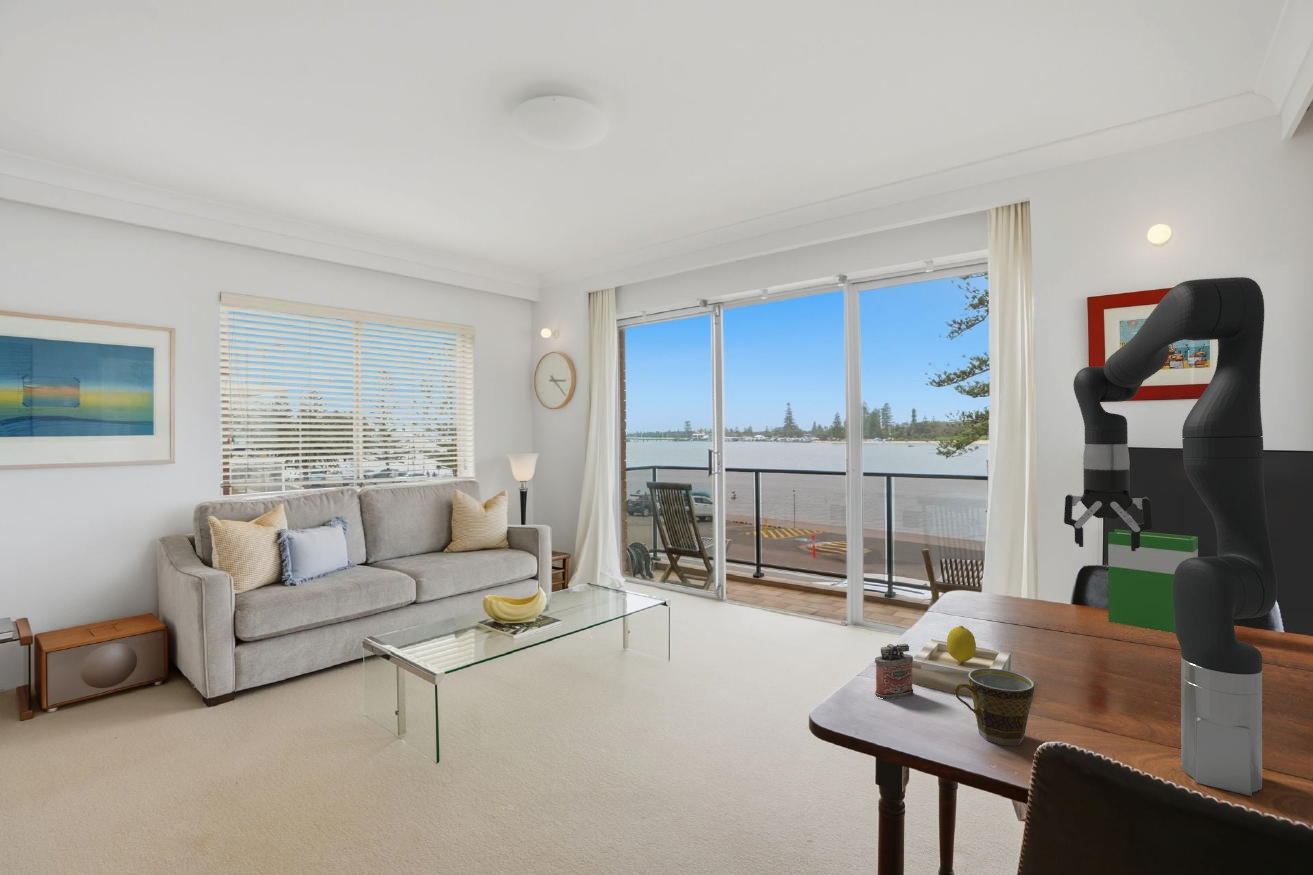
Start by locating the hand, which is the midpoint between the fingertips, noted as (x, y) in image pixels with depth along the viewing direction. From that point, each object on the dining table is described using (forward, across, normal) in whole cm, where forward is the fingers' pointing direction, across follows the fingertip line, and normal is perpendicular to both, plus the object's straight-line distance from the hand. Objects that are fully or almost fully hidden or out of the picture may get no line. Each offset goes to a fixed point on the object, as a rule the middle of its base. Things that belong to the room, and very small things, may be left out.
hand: (1106, 548), depth 129 cm
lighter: (+29, -35, -25) cm, 51 cm away
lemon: (+25, -25, -9) cm, 37 cm away
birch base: (+29, -25, -9) cm, 39 cm away
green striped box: (+29, +8, +57) cm, 64 cm away
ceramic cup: (+29, -16, -33) cm, 47 cm away
